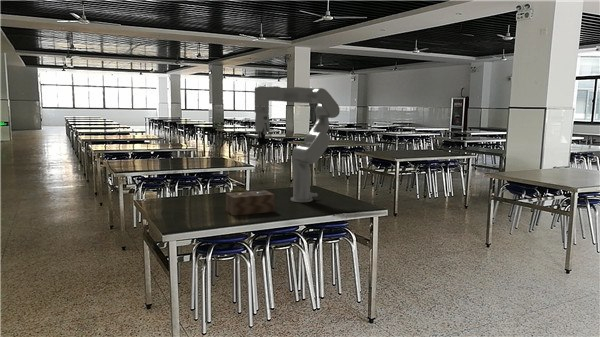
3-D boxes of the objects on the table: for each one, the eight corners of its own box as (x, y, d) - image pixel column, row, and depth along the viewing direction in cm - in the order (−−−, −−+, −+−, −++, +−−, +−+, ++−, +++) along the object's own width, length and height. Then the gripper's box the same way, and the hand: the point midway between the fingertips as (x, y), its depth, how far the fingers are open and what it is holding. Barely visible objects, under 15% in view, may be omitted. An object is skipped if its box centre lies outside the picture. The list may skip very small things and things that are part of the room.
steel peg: (261, 206, 240) (261, 191, 238) (264, 208, 236) (264, 192, 235) (254, 207, 238) (254, 192, 237) (256, 208, 234) (256, 193, 233)
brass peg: (243, 208, 235) (243, 192, 234) (245, 209, 232) (245, 194, 231) (235, 208, 233) (235, 193, 232) (238, 210, 230) (238, 194, 229)
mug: (246, 203, 243) (242, 185, 245) (229, 208, 246) (225, 190, 247) (254, 203, 255) (250, 186, 257) (238, 207, 258) (234, 190, 259)
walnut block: (265, 206, 245) (265, 190, 244) (274, 211, 234) (274, 194, 233) (225, 210, 235) (225, 193, 234) (233, 215, 225) (232, 197, 224)
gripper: (273, 110, 235) (273, 145, 238) (263, 109, 248) (263, 143, 251) (260, 110, 232) (260, 146, 234) (250, 109, 245) (250, 143, 248)
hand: (261, 144), depth 243 cm, fingers closed
